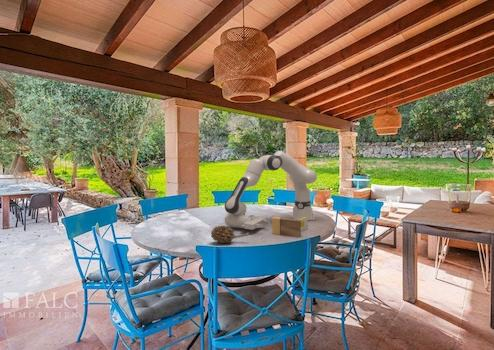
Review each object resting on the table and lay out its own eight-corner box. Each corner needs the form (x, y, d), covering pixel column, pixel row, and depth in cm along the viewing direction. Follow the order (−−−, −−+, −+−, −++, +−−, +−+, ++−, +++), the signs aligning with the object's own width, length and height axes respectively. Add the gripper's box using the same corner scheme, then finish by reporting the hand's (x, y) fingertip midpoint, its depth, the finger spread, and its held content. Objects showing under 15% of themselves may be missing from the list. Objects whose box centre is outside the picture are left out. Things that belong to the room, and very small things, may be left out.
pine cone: (210, 246, 156) (210, 228, 156) (211, 241, 166) (211, 224, 165) (250, 244, 159) (250, 227, 158) (248, 239, 168) (248, 223, 167)
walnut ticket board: (282, 233, 180) (282, 218, 179) (300, 236, 174) (300, 219, 174) (280, 235, 176) (280, 219, 175) (298, 237, 171) (298, 221, 170)
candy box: (305, 228, 192) (305, 216, 191) (307, 229, 190) (308, 217, 190) (292, 234, 179) (292, 221, 178) (295, 234, 178) (295, 221, 177)
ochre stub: (274, 232, 182) (274, 217, 181) (281, 233, 179) (281, 217, 179) (272, 233, 179) (272, 218, 178) (279, 234, 177) (279, 218, 176)
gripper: (239, 220, 179) (259, 223, 173) (253, 214, 197) (271, 216, 191) (239, 230, 180) (259, 233, 173) (253, 223, 198) (271, 225, 192)
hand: (266, 224), depth 182 cm, fingers open, 8 cm apart
